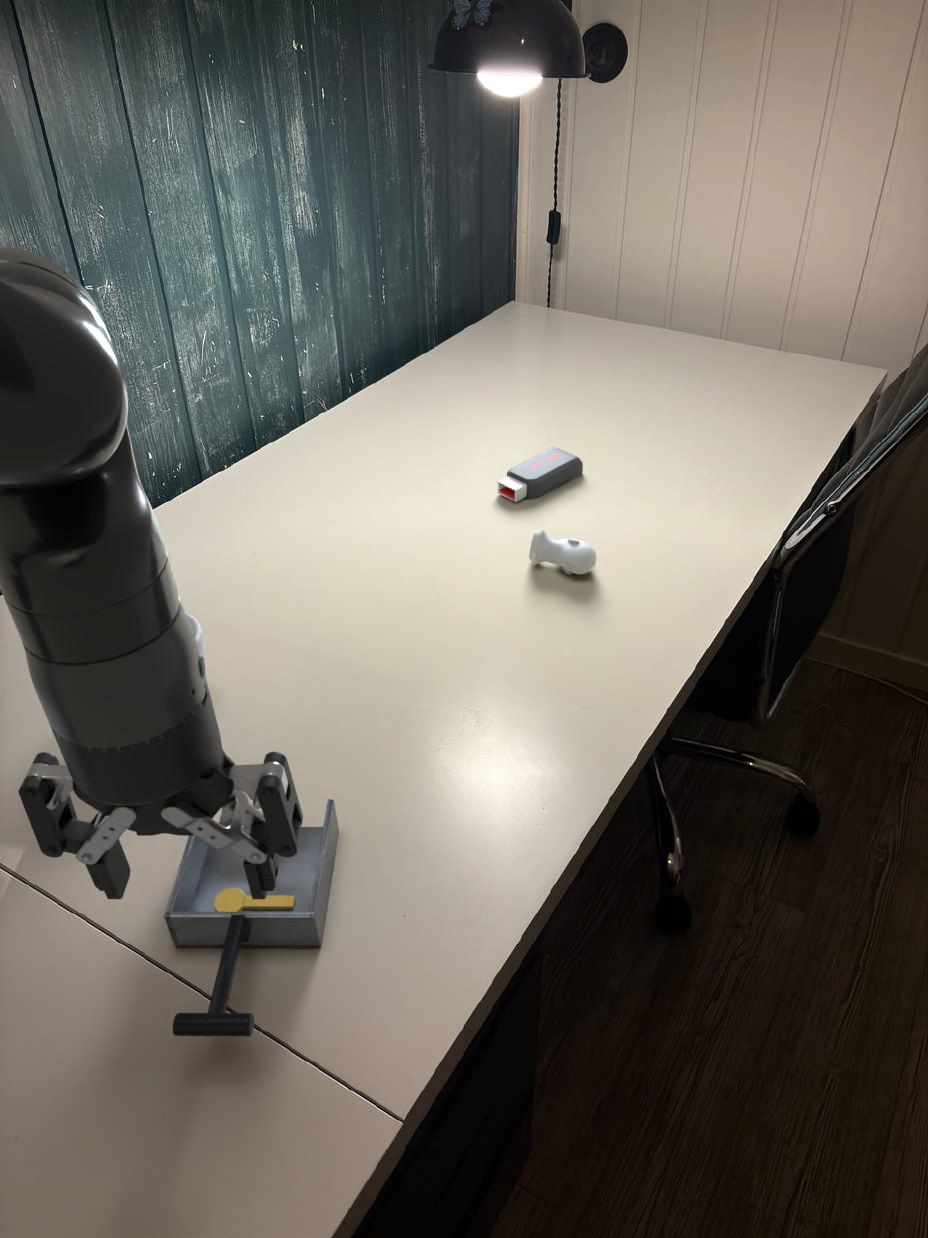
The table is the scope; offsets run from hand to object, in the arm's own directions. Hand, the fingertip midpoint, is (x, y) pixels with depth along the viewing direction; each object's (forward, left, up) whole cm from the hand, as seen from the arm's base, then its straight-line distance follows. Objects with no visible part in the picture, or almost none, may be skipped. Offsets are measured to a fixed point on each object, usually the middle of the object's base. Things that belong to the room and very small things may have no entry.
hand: (191, 887), depth 55 cm
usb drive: (+25, +74, -16) cm, 80 cm away
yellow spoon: (0, +9, -15) cm, 17 cm away
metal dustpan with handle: (0, +7, -15) cm, 17 cm away
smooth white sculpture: (+27, +55, -16) cm, 63 cm away
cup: (-14, +33, -16) cm, 39 cm away
